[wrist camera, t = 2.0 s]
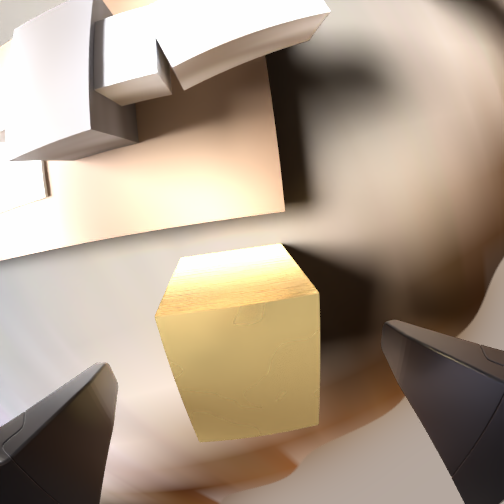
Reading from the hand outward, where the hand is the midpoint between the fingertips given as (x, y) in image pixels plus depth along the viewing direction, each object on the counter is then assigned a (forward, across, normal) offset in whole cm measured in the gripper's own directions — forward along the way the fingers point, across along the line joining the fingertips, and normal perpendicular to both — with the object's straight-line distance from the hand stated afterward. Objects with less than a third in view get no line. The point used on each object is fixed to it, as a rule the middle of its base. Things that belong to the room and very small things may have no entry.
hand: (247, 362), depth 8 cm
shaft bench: (+4, +10, -9) cm, 14 cm away
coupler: (+4, 0, 0) cm, 4 cm away
